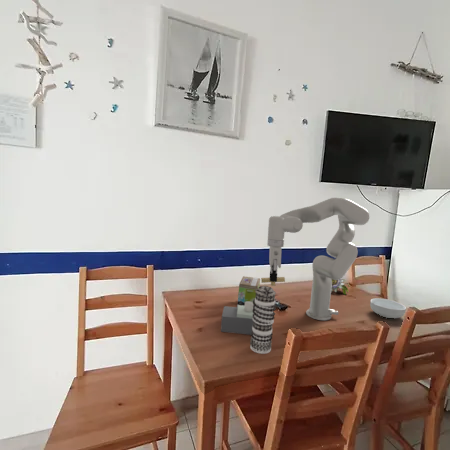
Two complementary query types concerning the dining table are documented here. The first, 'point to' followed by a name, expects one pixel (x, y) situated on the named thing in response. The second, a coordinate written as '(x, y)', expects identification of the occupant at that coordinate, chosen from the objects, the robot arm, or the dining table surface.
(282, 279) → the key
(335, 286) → the passion flower
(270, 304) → the decorative candle
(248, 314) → the lid
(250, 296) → the tea box
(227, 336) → the dining table surface
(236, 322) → the case
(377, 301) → the cereal bowl
